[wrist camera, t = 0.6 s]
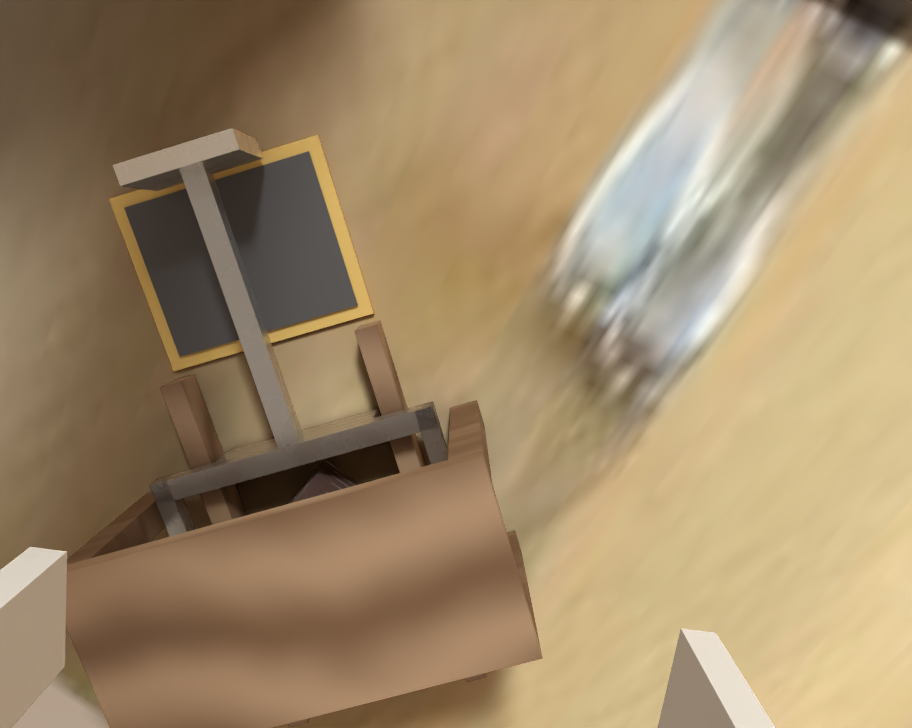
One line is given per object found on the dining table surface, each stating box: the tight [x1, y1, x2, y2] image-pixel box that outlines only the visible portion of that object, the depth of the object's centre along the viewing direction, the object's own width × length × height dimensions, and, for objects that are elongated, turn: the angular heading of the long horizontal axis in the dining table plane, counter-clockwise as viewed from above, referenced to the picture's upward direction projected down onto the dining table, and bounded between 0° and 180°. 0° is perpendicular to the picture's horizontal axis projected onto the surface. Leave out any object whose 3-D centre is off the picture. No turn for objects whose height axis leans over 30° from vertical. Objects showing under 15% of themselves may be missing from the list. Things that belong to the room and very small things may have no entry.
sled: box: [112, 128, 448, 537], centre depth 37 cm, size 29×16×5 cm, turn 16°
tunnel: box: [66, 321, 542, 728], centre depth 36 cm, size 22×20×10 cm
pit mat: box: [109, 135, 374, 371], centre depth 37 cm, size 10×12×1 cm
